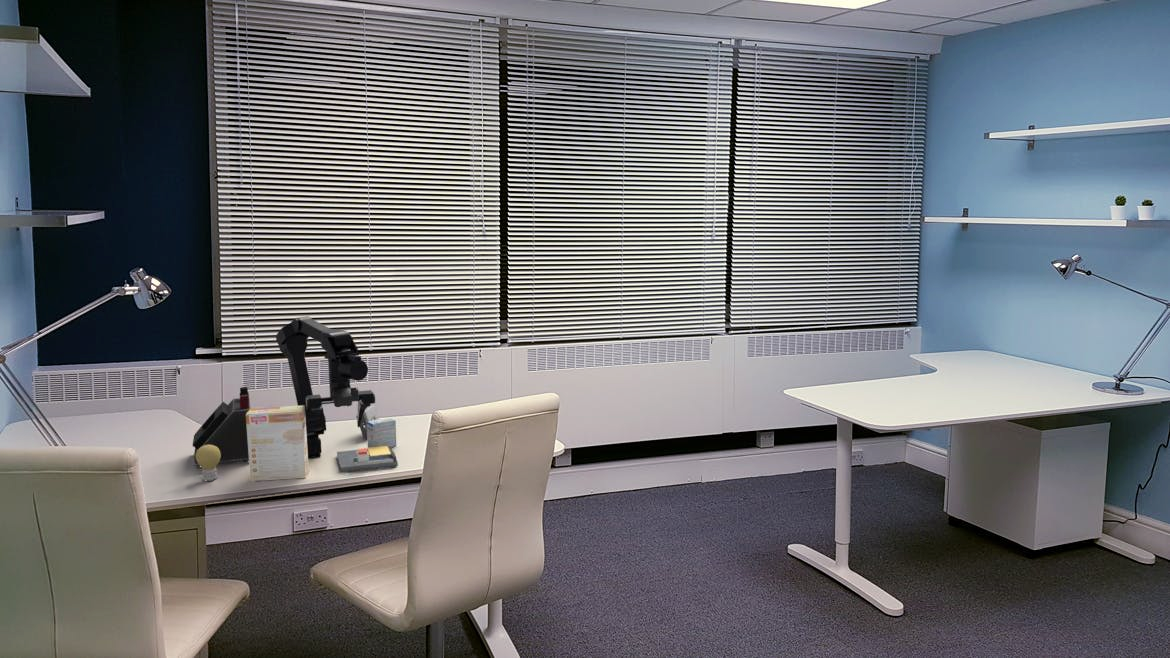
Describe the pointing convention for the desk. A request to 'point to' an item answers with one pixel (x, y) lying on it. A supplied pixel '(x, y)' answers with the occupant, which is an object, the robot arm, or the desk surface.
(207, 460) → the light bulb
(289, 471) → the coffeecake box
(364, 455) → the breaker toggle
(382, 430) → the medicine box
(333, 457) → the desk surface
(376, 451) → the pad
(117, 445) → the desk surface
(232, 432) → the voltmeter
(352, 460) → the panel
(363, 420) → the electrical switch
